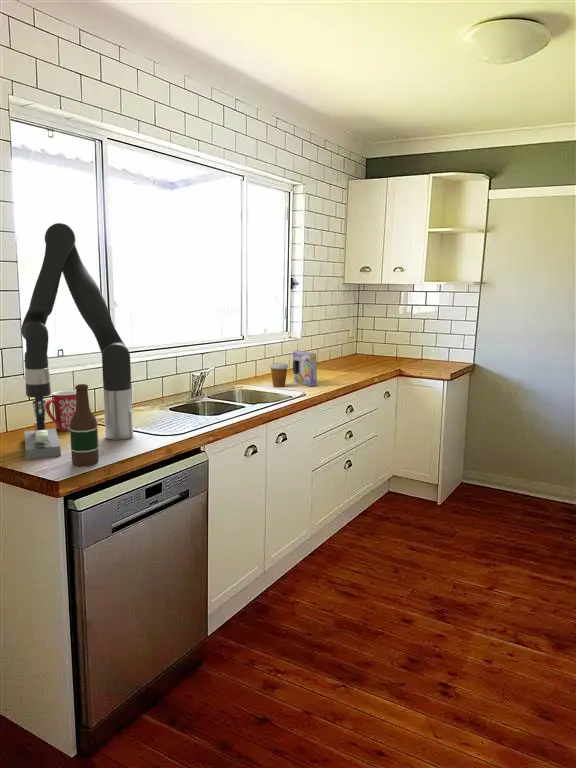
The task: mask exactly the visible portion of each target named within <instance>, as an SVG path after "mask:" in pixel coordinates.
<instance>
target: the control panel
mask: <svg viewBox="0 0 576 768" xmlns="http://www.w3.org/2000/svg"><path fill="white" fill-rule="evenodd" d="M46 430H47V431H48V438H49V441H47V442H36V433H35V429H34V430H33V429H31V430H24V445H25V446H24V447H25V460H31V459H30V458H33V459H41V458H40V457H43V458H49V457H51V456H52V457H61V456H62V455H61V454H62V453H61V452H62V450H61V449H62V448H61V443H60V439H59V437H58V432H57V428H46ZM60 455H61V456H60Z"/></svg>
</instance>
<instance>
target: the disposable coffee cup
mask: <svg viewBox="0 0 576 768" xmlns="http://www.w3.org/2000/svg"><path fill="white" fill-rule="evenodd" d="M269 367H270V373H271V380H272V387H273V388H284V387H285V388H286V381H287V373H288V368H289V366H288V363H285V362H273V363H270V366H269Z"/></svg>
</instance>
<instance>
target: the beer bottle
mask: <svg viewBox="0 0 576 768" xmlns="http://www.w3.org/2000/svg"><path fill="white" fill-rule="evenodd" d="M88 389H89V386H88V384H87V383H81V384H80V383H79V384H76V385H75V387H74V390H76V411H75V414H74V415H73V417H72V419H71V422H70V430H69V432H70V433H69V434H70V450H71V451H70V453H71V462H72V463H71V464H72V465H73V466H75V467H77V466H78V468H82V467H81V466H88V467H91V465H92V466H95V464H96V465H97V464H98V463H99V455H100V453H99V434H98V433H99V432H98V431H99V430H98V422H97V419H96V416H95V414H94V413H93V411H91V407H90V401H89V400H90V399H89V390H88Z"/></svg>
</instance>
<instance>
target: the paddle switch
mask: <svg viewBox="0 0 576 768" xmlns="http://www.w3.org/2000/svg"><path fill="white" fill-rule="evenodd" d="M33 425H34V430H35V432H36V431H37V421H36V420H35V421H34V423H33ZM44 427H45V430H46V429H47V421H46V420H45V422H44Z"/></svg>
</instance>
